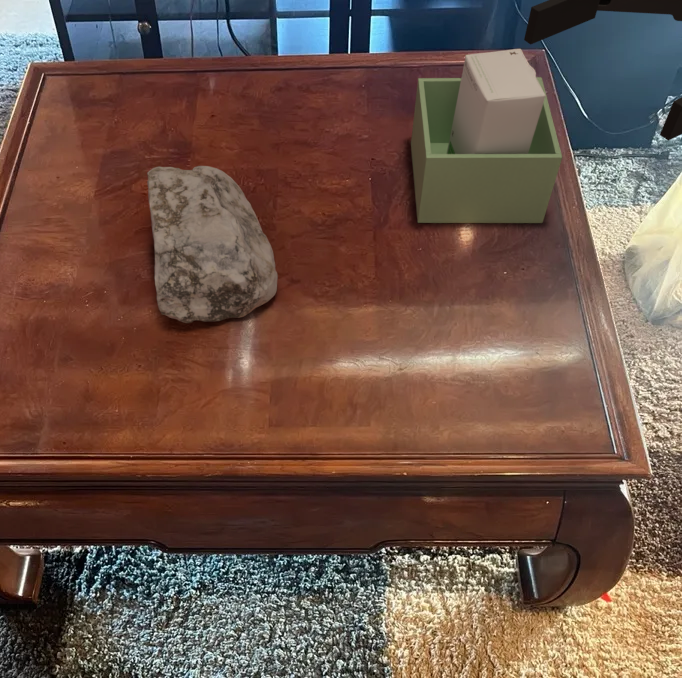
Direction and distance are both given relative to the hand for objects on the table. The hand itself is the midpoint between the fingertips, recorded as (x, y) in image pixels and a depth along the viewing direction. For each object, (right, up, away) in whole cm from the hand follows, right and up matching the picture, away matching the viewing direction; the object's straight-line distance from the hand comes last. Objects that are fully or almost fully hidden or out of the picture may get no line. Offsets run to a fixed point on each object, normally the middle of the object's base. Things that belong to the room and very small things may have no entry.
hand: (595, 70), depth 57 cm
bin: (+1, 0, +40) cm, 40 cm away
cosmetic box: (+2, -1, +39) cm, 39 cm away
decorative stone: (-30, -10, +35) cm, 47 cm away
